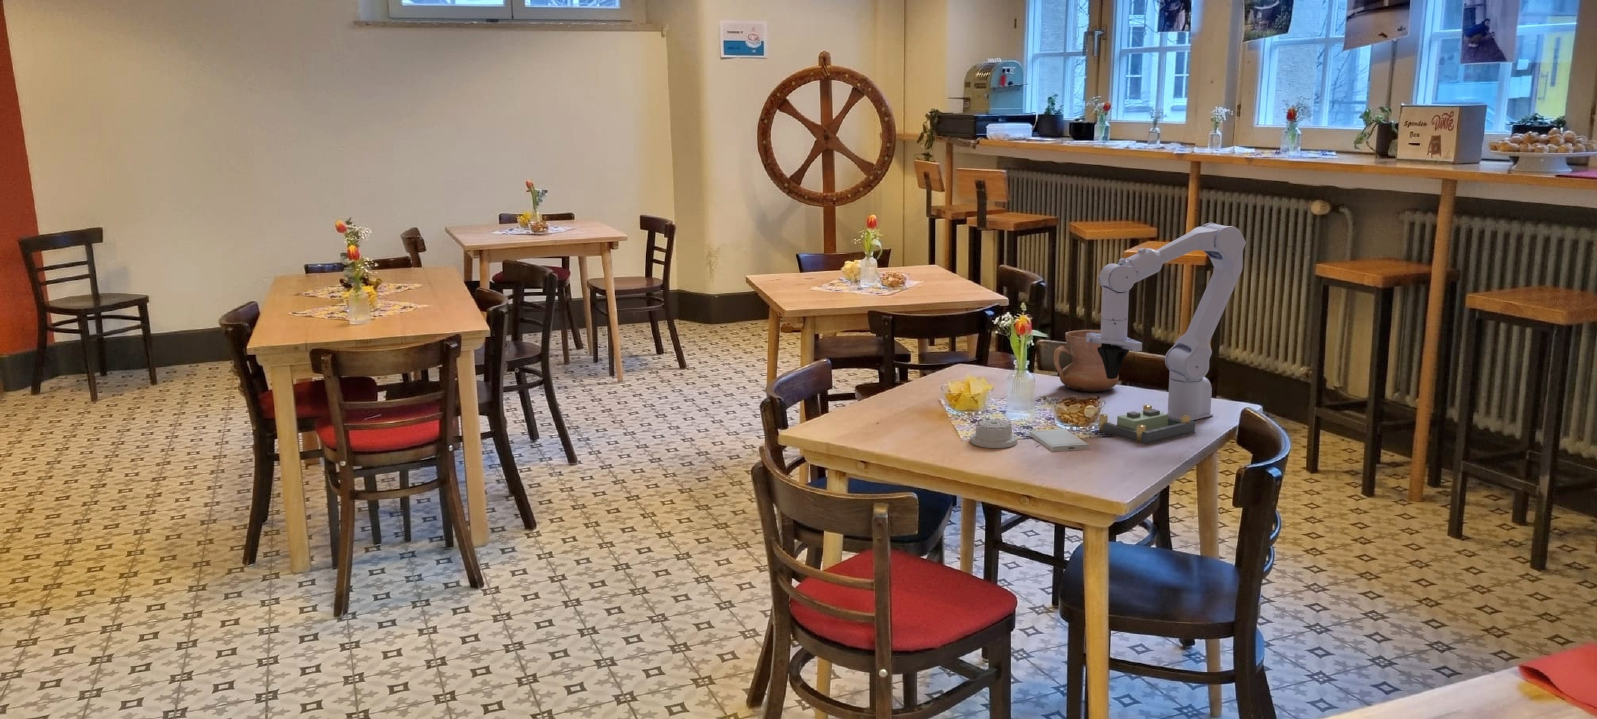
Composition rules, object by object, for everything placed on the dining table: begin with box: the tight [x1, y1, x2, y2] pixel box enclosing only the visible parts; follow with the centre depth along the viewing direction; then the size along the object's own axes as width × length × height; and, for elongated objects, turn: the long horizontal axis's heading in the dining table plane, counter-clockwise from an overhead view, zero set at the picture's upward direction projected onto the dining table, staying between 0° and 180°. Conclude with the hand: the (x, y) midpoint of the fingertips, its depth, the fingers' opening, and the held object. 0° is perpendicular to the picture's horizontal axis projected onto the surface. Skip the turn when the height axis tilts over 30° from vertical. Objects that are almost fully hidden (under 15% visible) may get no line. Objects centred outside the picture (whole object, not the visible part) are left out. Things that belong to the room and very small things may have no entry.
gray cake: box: [969, 418, 1019, 449], centre depth 247 cm, size 10×4×10 cm
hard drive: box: [1029, 428, 1090, 452], centre depth 246 cm, size 2×8×12 cm
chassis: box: [1098, 404, 1196, 446], centre depth 252 cm, size 16×14×4 cm
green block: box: [1116, 408, 1168, 431], centre depth 252 cm, size 10×5×5 cm, turn 120°
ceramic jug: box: [1052, 329, 1120, 393], centre depth 291 cm, size 18×14×14 cm
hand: (1112, 378), depth 260 cm, fingers closed
